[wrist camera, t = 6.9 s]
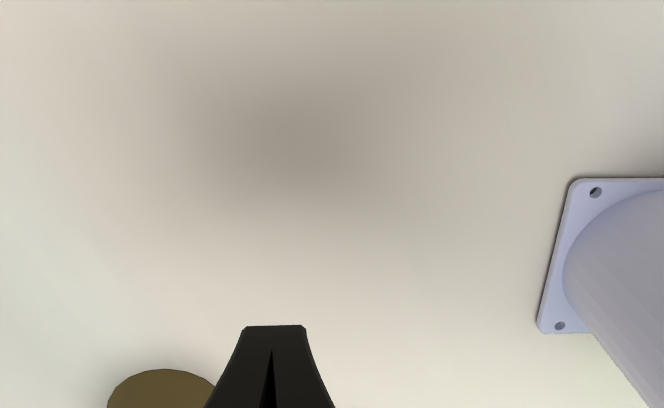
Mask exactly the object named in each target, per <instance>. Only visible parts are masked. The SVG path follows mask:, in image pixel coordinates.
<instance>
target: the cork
mask: <svg viewBox="0 0 664 408" xmlns="http://www.w3.org/2000/svg"><path fill="white" fill-rule="evenodd" d="M214 388H215V387H214V386H213V385H212V384H210V383H209V382H208V381H206V380H205V379H203V378H201V377H198V376H196V375H193V374H190V373H188V372H184V371H177V370H169V369H162V370H152V371H145V372H142V373H140V374H137V375H134V376H132V377H129V378H128V379H126V380H125V381H124V382H123V383H121V384H120V385H119V386H117V387H116V388H115V390H114V392H113V393H112V395H111V397H110V399H109V400H108V404H107V408H203V406H204V405H205V403H206V402H207V400H208V398H209V397H210V395H211V393H212V392H213V390H214Z"/></svg>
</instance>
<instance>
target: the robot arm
mask: <svg viewBox="0 0 664 408" xmlns="http://www.w3.org/2000/svg"><path fill="white" fill-rule="evenodd" d="M595 187H597V190H596V192H594V193H593V194H590V191H591V190H592V189H593V188H595ZM558 322H560V323H559V324H557V325H555V324H556V323H558ZM536 325H537V327H538V328H539V330H540V332H542V333H544V334H561V333H592V334H593V335H594V337H595V338H596V339H597V341H598V342H599V343H600V345H601V346H602V347H603V348H604V350H605V351H606V352H607V354H608V355H609V356H610V357H611V359H612V360H613V361H614V363H615V364H616V365H617V367H618V368H619V369H620V370H621V372H622V373H623V374H624V376H625V377H626V378H627V380H628V381H629V382H630V383H631V385H632V386H633V387H634V389H635V390H636V391H637V392H638V394H639V395H640V396H641V398H642V399H643V400H644V402H645V403H646V404H647V405H648V407H649V408H664V178H583V179H578V180H576V181H574V182H573V183H572V184H571V185H570V188H569V190H568V194H567V199H566V203H565V207H564V211H563V215H562V219H561V223H560V227H559V231H558V235H557V240H556V244H555V248H554V252H553V256H552V260H551V264H550V268H549V272H548V277H547V281H546V285H545V289H544V293H543V297H542V301H541V305H540V309H539V313H538V318H537V322H536ZM203 408H335V406H334V404H333V402H332V400H331V398H330V396H329V394H328V392H327V389H326V387H325V385H324V383H323V381H322V379H321V376H320V374H319V372H318V369H317V367H316V364H315V361H314V359H313V356H312V353H311V350H310V346H309V343H308V339H307V334H306V329H305V328H304V327H303V326H302V325H277V326H247V327H245V328H244V329H243V330H242V332H241V335H240V338H239V340H238V343H237V345H236V347H235V350H234V352H233V354H232V356H231V358H230V360H229V362H228V364H227V366H226V368H225V370H224V372H223V374H222V376H221V377H220V379H219V381H218V383H217V384H216V386H215V388H214V390H213V392H212V393H211V395H210V397H209V398H208V400H207V402H206V403H205V405H204V406H203Z"/></svg>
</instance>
